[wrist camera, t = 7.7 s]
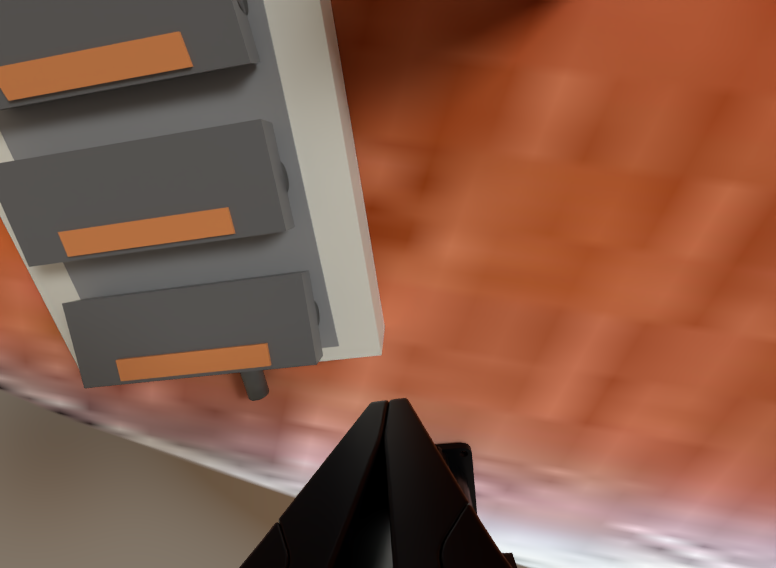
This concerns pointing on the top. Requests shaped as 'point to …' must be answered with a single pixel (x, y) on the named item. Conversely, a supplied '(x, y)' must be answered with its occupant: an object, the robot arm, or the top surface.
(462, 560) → the robot arm
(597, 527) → the top surface
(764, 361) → the top surface
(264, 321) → the rocker
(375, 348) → the light switch panel
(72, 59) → the rocker
